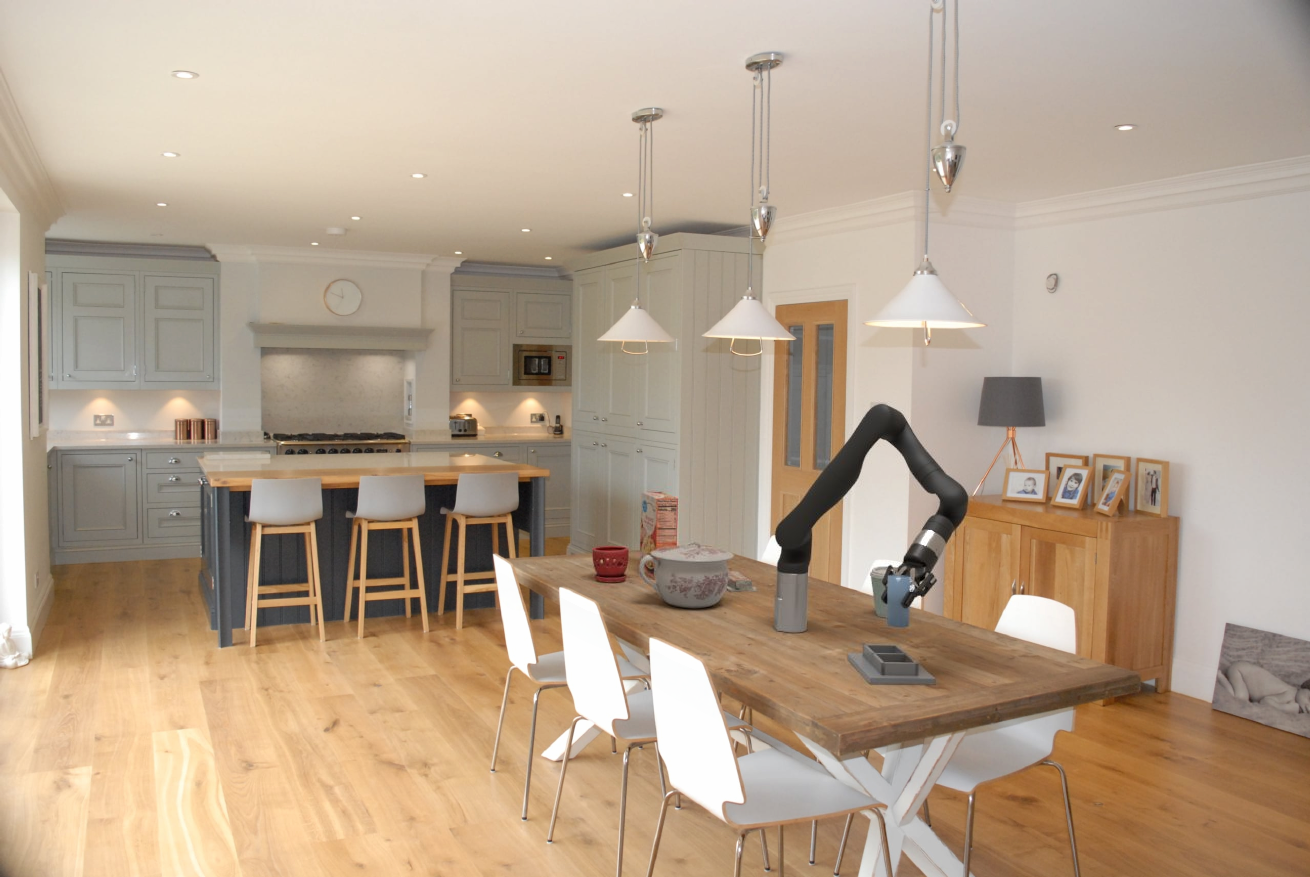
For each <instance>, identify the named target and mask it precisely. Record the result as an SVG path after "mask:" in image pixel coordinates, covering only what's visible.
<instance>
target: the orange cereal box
mask: <svg viewBox="0 0 1310 877" xmlns="http://www.w3.org/2000/svg"><path fill="white" fill-rule="evenodd" d="M640 496H641V497H640V498H641V500H640V501H641V502H640V504H641V505H640V532H639V533H640V540H639V562H640V561H641V559H642V558H643V557H644V556H646V555H650V556H652V555H651V554H650V552H652V551H653V550H655V549H659V548H663V547H669V546H678V521H679V518H678V516H679V512H678V511H679V498H678V497H675V496H673V495H670V494H668V493H666V492H664V491H641V495H640ZM652 557H653V556H652ZM655 558H656V557H655ZM656 559H657V560H658V558H656ZM644 573H645V574H646V573H647V574H648V577H650V578H651V577H652V578H651V579H653V580H654V581H655V576H654V562H651V561H648V562H645V565H644ZM647 574H646V575H647Z"/></svg>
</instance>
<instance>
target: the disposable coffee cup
mask: <svg viewBox="0 0 1310 877" xmlns="http://www.w3.org/2000/svg"><path fill="white" fill-rule="evenodd" d="M887 568H888V566H876V567H873V568H872V569H871V571H870V572H869V576H870V581H871V588H872V589H871V590H872V593H873V594H872V595H873V601H874V602H873V603H874V608H875V609H874V610H875V613H876V616H877V617H880V618H886V619H887V604H884V603H883V601H882V600H881V596H882V594H883V592H884V591H885V589H886V588H885V586H884V585H883V584H882V580H883V578H884V575H885V573H886V570H887Z"/></svg>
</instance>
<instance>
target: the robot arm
mask: <svg viewBox="0 0 1310 877" xmlns="http://www.w3.org/2000/svg"><path fill="white" fill-rule="evenodd" d="M880 439H881V440H883V441H887V442H888V443H889V444H890V445H891V446H893V447H894V448H895V449H896V450H897V451H898V452H899V453H900V455H901V456H902V458H903V459H904V461H905V463H906V465H907V468H908V469H909V471H910V473H911V474H912V475H913V478H914V479H915V480H916V481H917V482H918V483H919V484H920V486H921V487H922V488H923V489H924V490H925V491H926V493H928V494H930V495H936V496H937V498H938V500H939V506H938V509H937V511H936V513H935V514H933V515H931V516H929V517H928V519H927V520H926V522H925V524H924V525H923V527H922V528H921V529H920V531H919V533H917V535H916V536H915V538H914V539H913V541H912V543H911V544H910V546H909V548H908V549H907V551H906V553H905V555H903V560H902V563H901V564H900V565H899V566H893V565H891V564H889V565H888V566H887V567H888V568H887V570H886V573H885V575H884V578H883V580H882V584H883V585H884V586H885V588H886V589H885V591H884V592H883V594H882V596H881V600H882V601H883V603H884V604H887V588H888V575H905V576H909V577H911V582H910V589H909V591H910V592H907V594H906V595H905V597H904V599H903V600H902V602H901V605H902V606H903V608H906V609H907V608H908V607H909V606H910V607H911V605H912V604H913V602H914V600H915V599H916V598H918V597H921V598H924V597H925V596H926V595H927V594H928V592H929V591H930V590H931V589H932V588H933V586H935V584H936V583H937V582H938V579H937V578H936V575H935V574H934V573H933V572H932V571H933V569H934V568H935V566H936V565H937V562H938V561H939V559H940V557H941V556H942V554H943V553H944V550H945V547H946V545H947V544H948V542H949V540H950V538H951V536H952V535H953V533H954V532H955V531H956V530H957V528H958V527H959V526H960V525H961V524H962V522H963V520H964V519H965V517H966V516H967V513H968V505H969V495H968V492H967V491H966V489H965V488H964V486H963V485H962V484H961V483H960V482H958V481H957V480H956V479H954V478H953V477H952V476H950V475H949V474H947V473H946V471H945V470H944V469H943V468H942V467H941V466H940V465H939V463H938V461H936V459H934V458H933V457H932V455H931V454H930V453H929V452H928V451H927V449H926V448H925V447H924V446H923V444H922V443H921V442H920V440H919V439H918V437H917V436H916V434H915V432H914V431H913V428H912V427H911V425H910V424H909V422H908V420H907V418H906V416H905V415H904V414H903V413H902V412H901V411H900V410H898V409H896V408H894V407H892V406H890V405H889V404H884V403H879V404H875V405H873V406H872V407H871V408H870V409H869V410H868V411H867V412H866V413H865V414H864V416H863V417H862V418H861V420H860V422H859V424H858V425H857V427H856V428H855V429H854V431H853V433H852V434H851V436H850V437H849V439H848V440H847V441H846V442H845V443H844V445H843V446H842V447H841V448H840V450H839V451H838V452H837V454H836V455H835V456H834V458H832V460H831V461H830V462H829V463H828V464H827V465H826V467H825V468H824V469H823V470H822V471H821V472H820V474H819V476H818V477H817V478H816V479H815V480H814V482H813V484H811V486H810V488H808V490H807V492H806V494H805V495H804V496H803V497H802V499H801V500H800V502H799V503H798V504H797V505H796V506H795V507H794V508H793V509H791V510H792V511H790V512H789V513H788V514H787V515H786V516H785V517H784V518H783V519H782V520H781V521H780V522H779V523H778V524H777V526H776V528H775V531H774V537H775V538H774V539H775V542H776V543H777V545H778V546H779V547H780V548H781V550H780V555H779V558H778V560H777V563H776V586H775V587H776V591H775V594H774V605H773V608H774V609H773V627H774V629H775V630H776V631H777V632H784V633H802V632H806V631H807V629H808V628H807V627H808V626H807V625H808V599H809V596H808V595H809V573H810V572H809V567H810V564H811V560H812V548H813V528H814V526H815V525H816V523H817V522H818V521H819V520H820V519H821V518H822V517H823V516H824V515H825V514H826V513H827V512H828V511H829V510H831V509H832V508H833V507H835V506H836V505H837V504H838V503H839V502H840V501H841V500H842V499H843V498H844V497H845V496H846V495H847V494H848V492H849V491H851V489H852V487H854V485H855V484H856V483H857V481H858V479H859V478H860V475H861V473H862V468H863V465H864V461H865V459H866V457H867V454H868V453H869V452H870V450H871V449H872V448H873V447H874V446H875V444H876V443H877V442H878V441H879V440H880Z"/></svg>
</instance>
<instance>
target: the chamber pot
mask: <svg viewBox="0 0 1310 877" xmlns="http://www.w3.org/2000/svg"><path fill="white" fill-rule="evenodd" d="M650 554H651V555H652V556H653V557H652V556H650V555H646V556H644V557H643V558H642V559H641V561H640V560H639V562H638V569H637V570H638V573H639V576H640V578H641V579H642V580H643V581H644V582H645V583H646V584H648V586H650V587H652V588H653V589H654V590H655V591H656V593H657V594H658V595H659V596H660V597H661V598H662V599H663V601H664V602H665V603H667V604H669V605H671V606H673V607H677V608H682V609H691V610H692V609H704V608H709V607H712V606H714V605H716V604H717V603H718V602H719V601H720V600H721V598H722V597H723V595H724V593H725V592H726V590H727V585H728V581H729V572H730V571H731V570H730V568H729V567H728V564H727V561H730V560H732V559H734V557H735V554H733V552H730V551H728V550H725V549H723V548H718V547H712V546H707V545H705V546H704V545H701V544H700V542H699V541H695V540H693V541H688V542H686V543H685V544H684V545H683V544H682V545H677V546H669V547H663V548H659V549H655V550H653V551H652V552H650ZM655 557H656V558H658V560H657V559H656V558H655ZM648 561H651V562H654V576H655V580H654V582H653V581H651V580H649V578H648V577H647V576H646V573H645V572H644V565H645V562H648Z"/></svg>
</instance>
